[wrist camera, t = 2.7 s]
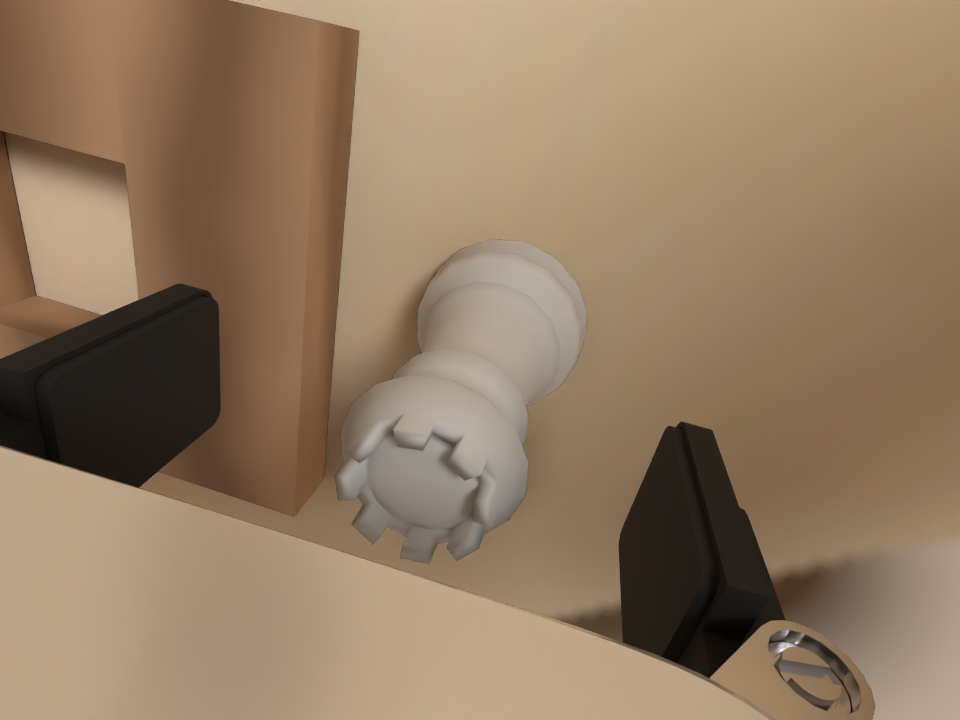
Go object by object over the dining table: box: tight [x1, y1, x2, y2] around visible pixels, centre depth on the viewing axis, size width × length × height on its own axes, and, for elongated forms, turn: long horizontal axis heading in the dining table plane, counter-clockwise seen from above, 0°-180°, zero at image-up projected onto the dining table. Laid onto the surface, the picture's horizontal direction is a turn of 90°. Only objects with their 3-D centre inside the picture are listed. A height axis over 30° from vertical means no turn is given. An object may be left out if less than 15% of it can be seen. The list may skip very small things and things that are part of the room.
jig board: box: [0, 0, 359, 517], centre depth 16 cm, size 16×14×2 cm
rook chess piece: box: [335, 239, 587, 564], centre depth 12 cm, size 4×4×8 cm
